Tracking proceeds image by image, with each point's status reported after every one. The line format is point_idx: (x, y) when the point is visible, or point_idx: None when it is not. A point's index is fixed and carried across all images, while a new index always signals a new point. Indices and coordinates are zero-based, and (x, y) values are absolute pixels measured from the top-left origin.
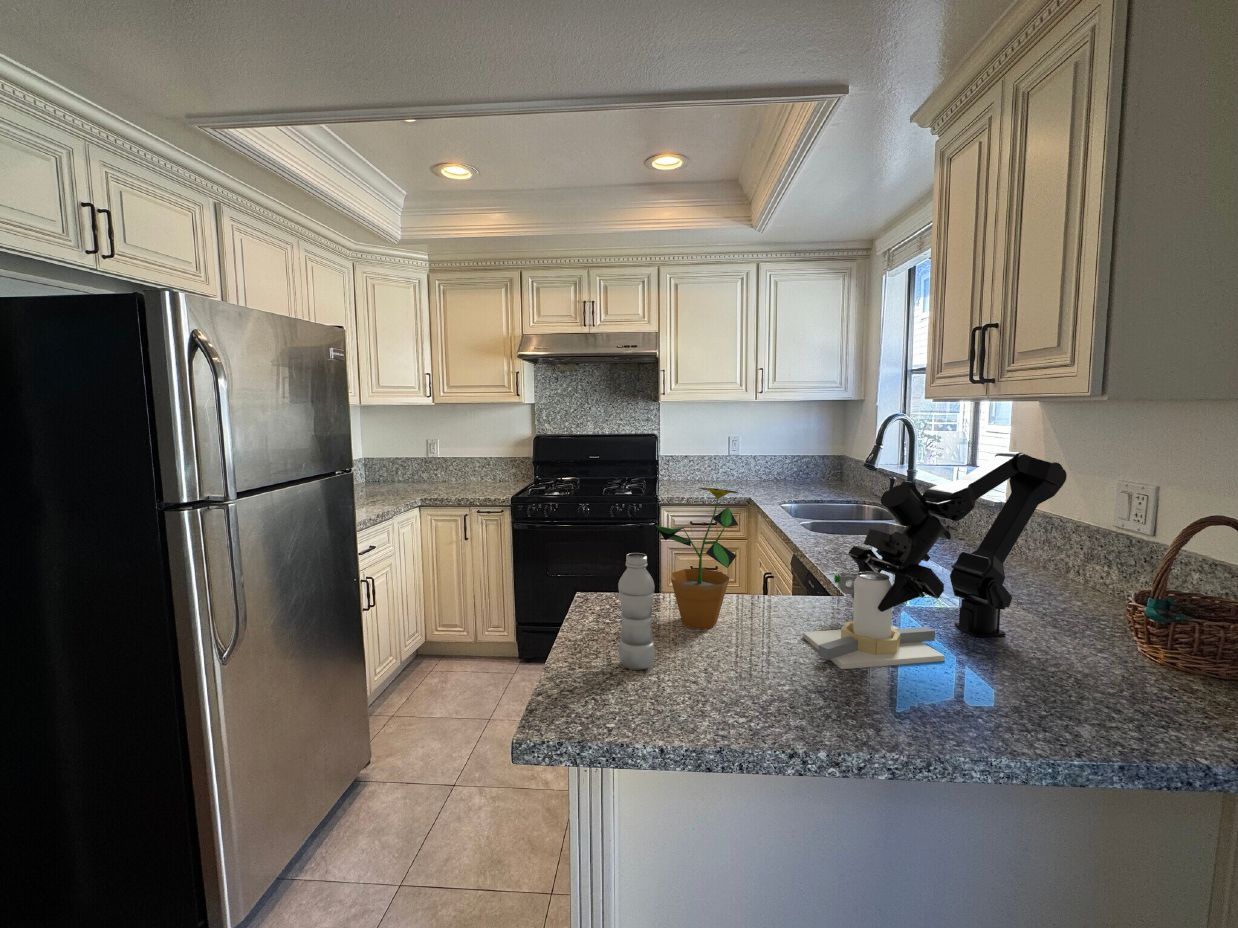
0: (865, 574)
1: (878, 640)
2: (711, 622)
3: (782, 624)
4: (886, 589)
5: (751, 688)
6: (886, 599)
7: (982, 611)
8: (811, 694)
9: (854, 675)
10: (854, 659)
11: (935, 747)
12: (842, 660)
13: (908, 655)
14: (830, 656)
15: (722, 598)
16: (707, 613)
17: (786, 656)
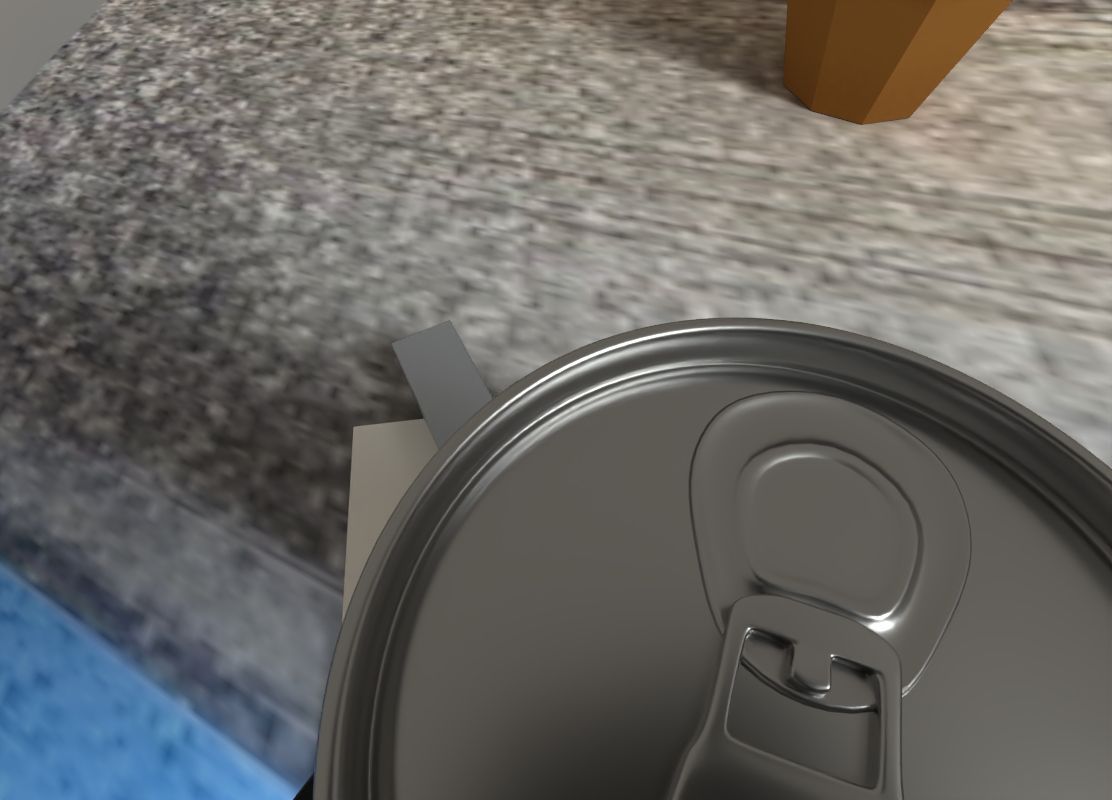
0: (1079, 622)
1: None
2: (809, 82)
3: (930, 350)
4: None
5: (301, 132)
6: (297, 797)
7: None
8: (200, 264)
9: (287, 475)
10: (387, 513)
11: None
12: (387, 445)
13: None
14: (409, 386)
15: (898, 5)
16: (798, 20)
17: (525, 271)
